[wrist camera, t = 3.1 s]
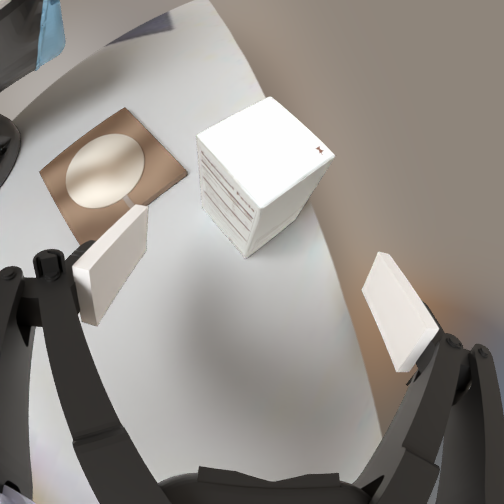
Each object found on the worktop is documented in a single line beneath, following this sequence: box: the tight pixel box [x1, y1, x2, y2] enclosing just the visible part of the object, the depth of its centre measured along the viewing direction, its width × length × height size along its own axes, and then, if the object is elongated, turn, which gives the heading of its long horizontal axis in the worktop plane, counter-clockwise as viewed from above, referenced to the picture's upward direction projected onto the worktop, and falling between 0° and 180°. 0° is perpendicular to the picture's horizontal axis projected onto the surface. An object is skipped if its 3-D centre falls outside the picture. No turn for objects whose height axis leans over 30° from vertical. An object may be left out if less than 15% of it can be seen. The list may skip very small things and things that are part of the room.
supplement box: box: [196, 97, 335, 258], centre depth 25 cm, size 7×7×13 cm
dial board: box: [40, 107, 187, 246], centre depth 30 cm, size 14×14×1 cm
